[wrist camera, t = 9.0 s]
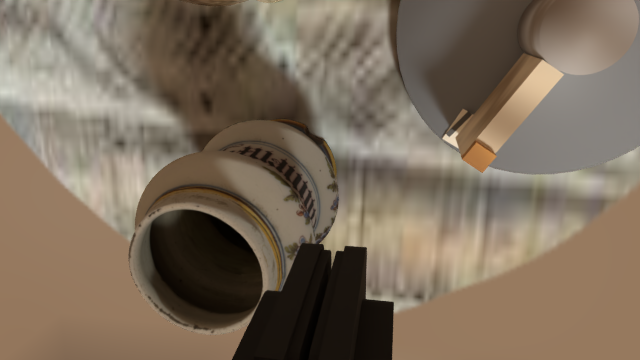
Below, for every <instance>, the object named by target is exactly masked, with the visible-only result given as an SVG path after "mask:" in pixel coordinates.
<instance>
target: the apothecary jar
mask: <svg viewBox="0 0 640 360" xmlns="http://www.w3.org/2000/svg"><path fill="white" fill-rule="evenodd" d="M338 200H339V195H338V185H337V169H336V164H335V160H334V157H333V154H332V152H331V150H330V148H329V147H328V145H327V143H326V142H325V141H324V140H322V139H319V138H317V137H315V136H313V135H311V134H310V133H309V131H308V128H307V126H306V125H304V124H302V123H299V122H296V121H293V120H287V119H276V120H250V121H244V122H240V123H237V124H234V125H232V126H229V127H227V128H226V129H224V130H222V131H221V132H219V133H218V134H217V135H216V136H214V137H213V138H212V139H211V140H210V141H209V143H208V144H207V145H206V146H205V148H204V149H203V151H202V152H197V153H193V154H189V155H186V156H183V157H181V158H179V159H177V160H175V161H173V162H171V163H170V164H168V165H167V166H165V167H164V168H163V169H162V170H160V171H159V172H158V173H157V174H156V175H155V176H154V177H153V179H152V180H151V181H150V182H149V184H148V185H147V187H146V188H145V190H144V192H143V194H142V196H141V198H140V201H139V204H138V207H137V212H136V218H135V232H134V234H133V237H132V239H131V243H130V248H129V267H130V272H131V275H132V278H133V280H134V283H135V285H136V286H137V288H138V290H139V291H140V293H141V295H142V296H143V297H144V299H145V300H146V302H147V303H148V304H149V305H150V306H151V307H152V308H153V309H154V310H155V311H156V312H157V313H158V314H159V315H161V316H162V317H163V318H165V319H166V320H168V321H169V322H171V323H172V324H174V325H176V326H178V327H181V328H182V329H185V330H188V331H191V332H195V333H200V334H210V335H217V334H225V333H230V332H233V331H236V330H239V329H241V328H243V327H245V326H247V325H248V324H249V323H250V321H251V319H252V317H253V315H254V313H255V310H256V308H257V306H258V304H259V302H260V300H261V298H262V296H263V294H264V292H265V291H267V290H272V291H281V290H282V288H283V286H284V283H285V281H286V279H287V276H288V274H289V271H290V269H291V267H292V264H293V262H294V260H295V257H296V255H297V252H298V250H299V248H300V245H301V244H302V243H313V244H319V243H320V242H321V241H322V240H323V239H324V238H325V237H326V235H327V234H328V233H329V231H330V229H331V227H332V225H333V223H334V220H335V217H336V214H337V209H338Z"/></svg>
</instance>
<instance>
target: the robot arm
mask: <svg viewBox="0 0 640 360" xmlns="http://www.w3.org/2000/svg"><path fill="white" fill-rule="evenodd" d="M366 262H367V248H366V247H353V246H345V249H344V251H337V252H336V255H335V259H334V262H333V266H332V270H331V251H330V250H324V246H323V244H313V243H302V244H301V245H300V248H299V250H298V252H297V255H296V257H295V260H294V262H293V264H292V267H291V269H290V271H289V274H288V276H287V279H286V281H285V283H284V286H283V288H282V290H281V291H272V290H267V291H265V292H264V294H263V296H262V298H261V300H260V302H259V304H258V306H257V308H256V310H255V313H254V315H253V317H252V319H251V321H250V323H249V325H248V327H247V329H246V331H245V333H244V336H243V338H242V340H241V342H240V344H239V346H238V348H237V350H236V352H235V354H234V356H233V359H232V360H392V342H393V310H394V302H388V301H378V300H367V299H366Z"/></svg>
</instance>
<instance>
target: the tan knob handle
mask: <svg viewBox="0 0 640 360" xmlns="http://www.w3.org/2000/svg"><path fill="white" fill-rule="evenodd" d="M638 25H639V14H638V9H637V6H636V4H635V1H634V0H533V1H532V2H531V3H530V4H529V5H528V6H527V8H526V9H525V10H524V12H523V14H522V16H521V18H520V21H519V24H518V31H517V34H518V41H519V45H520V47H521V49H522V50H523V52H524V53H523V54H522V56H521V57H520V58H519V59H518V61H517V62H516V63H515V64H514V66H513V67H512V68H511V69H510V71H509V72H508V73H507V74H506V76H505V77H504V78H503V79H502V80H501V82H500V83H499V84H498V85H497V87H496V88H495V89H494V90H493V92H492V93H491V94H490V95H489V97H488V98H487V99H486V100H485V101H484V103H483V104H482V105H481V106H480V108H479V109H478V110H477V111H476V113H475V114H474V115H473V116H472V118H471V119H470V120H469V121H468V123H467V124H466V125H465V126H464V127H463V129H462V130H461V131H460V132H459V134H458V135H457V136H456V137H455V138H456V141H457V144H458V148H459V151H460V154H461V157H462V160H464V161H465V162H467V163H468V164H470V165H471V166H473V167H474V168H476V169H477V170H479V171H480V172H482V173H483V172H484V170H485V169H486V168H487V167H488V166H489V165H490V164H491V162H492V161H493V160H494V159H495V158H496V157H497V156H496V154H495V153H496V152H497V151H498V150H499V149H500V148H501V146H502V145H503V144H504V143H505V142H506V141H507V140H508V138H509V137H510V136H511V135H512V134H513V133H514V132H515V130H516V129H517V128H518V127H519V126H520V125H521V124H522V122H523V121H524V120H525V119H526V118H527V117H528V116H529V114H530V113H531V112H532V111H533V110H534V109H535V107H536V106H537V105H538V104H539V103H540V102H541V101H542V99H543V98H544V97H545V96H546V95H547V94H548V93H549V91H550V90H551V89H552V88H553V87H554V86H555V85H556V83H557V82H558V81H559V80H560V79H561V78H562V76H563V75H564V74H563V73H561V72H560V71H562V72H565V73H568V74H573V75H587V74H593V73H596V72H599V71H602V70H604V69H606V68H608V67H610V66H611V65H613V64H614V63H616V62H617V61H618V60H619V59H620V58H621V57H622V56H623V55H624V54H625V53H626V52H627V51H628V49H629V48H630V46H631V45H632V43H633V41H634V39H635V37H636V34H637V30H638ZM558 70H559V71H558Z"/></svg>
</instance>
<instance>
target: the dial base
mask: <svg viewBox="0 0 640 360" xmlns="http://www.w3.org/2000/svg"><path fill="white" fill-rule="evenodd" d="M532 1H533V0H401V1H400V5H399V10H398V20H397V30H396V32H397V53H398V60H399V66H400V71H401V74H402V78H403V81H404V84H405V87H406V90H407V92H408V94H409V96H410V99H411V101H412V103H413V105H414V106H415V108H416V110H417V111H418V113H419V114H420V116H421V117H422V119H423V120H424V121H425V123H426V124H427V125H428V126H429V127H430V129H431V130H432V131H433V132H434V133H435V134H436V135H437V136H438V137H439V138H441V139H442V140H443V141H444V142H445V143H446V144H447V145H449V146H450V147H452V148H453V149H455V150H456V151H458V152H459V153H460V151H459V148H458V144H457V141H456V138H455V137H456V136H457V135H458V134H459V132H460V131H461V130H462V129H463V127H464V126H465V125H466V124H467V123H468V121H469V120H470V119H471V118H472V116H473V115H474V114H475V113H476V111H477V110H478V109H479V108H480V106H481V105H482V104H483V103H484V101H485V100H486V99H487V98H488V97H489V95H490V94H491V93H492V92H493V90H494V89H495V88H496V87H497V85H498V84H499V83H500V82H501V80H502V79H503V78H504V77H505V76H506V74H507V73H508V72H509V71H510V69H511V68H512V67H513V66H514V64H515V63H516V62H517V61H518V59H519V58H520V57H521V56H522V54H523V53H524V52H523V50H522V49H521V47H520V45H519V41H518V34H517V31H518V24H519V21H520V18H521V16H522V14H523V12H524V10H525V9H526V8H527V6H528V5H529V4H530V3H531V2H532ZM634 1H635V4H636V6H637V9H638V14H639V25H638V30H637V34H636V37H635V39H634V41H633V43H632V45H631V46H630V48H629V49H628V51H627V52H626V53H625V54H624V55H623V56H622V57H621V58H620V59H619V60H618V61H617V62H616V63H614V64H613V65H611V66H610V67H608V68H606V69H604V70H602V71H599V72H596V73H593V74H587V75H573V74H568V73H565V72H562V71H560V72H561V73H563V74H564V75H563V76H562V78H561V79H560V80H559V81H558V82H557V83H556V85H555V86H554V87H553V88H552V89H551V90H550V91H549V93H548V94H547V95H546V96H545V97H544V98H543V99H542V101H541V102H540V103H539V104H538V105H537V106H536V107H535V109H534V110H533V111H532V112H531V113H530V114H529V116H528V117H527V118H526V119H525V120H524V121H523V122H522V124H521V125H520V126H519V127H518V128H517V129H516V130H515V132H514V133H513V134H512V135H511V136H510V137H509V138H508V140H507V141H506V142H505V143H504V144H503V145H502V146H501V148H500V149H499V150H498V151H497V152H496V153H495V154H496V156H497V157H496V158H495V159H494V160H493V161H492V162H491V164H490V165H489V167H492V168H495V169H500V170H504V171H509V172H513V173H523V174H557V173H565V172H572V171H576V170H581V169H585V168H589V167H593V166H596V165H599V164H602V163H604V162H607V161H610V160H613V159H615V158H617V157H619V156H621V155H623V154H626V153H628V152H630V151H632V150H634V149H635V148H637V147H639V146H640V0H634ZM558 71H559V70H558Z"/></svg>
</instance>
